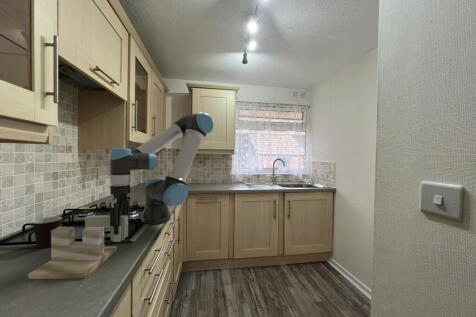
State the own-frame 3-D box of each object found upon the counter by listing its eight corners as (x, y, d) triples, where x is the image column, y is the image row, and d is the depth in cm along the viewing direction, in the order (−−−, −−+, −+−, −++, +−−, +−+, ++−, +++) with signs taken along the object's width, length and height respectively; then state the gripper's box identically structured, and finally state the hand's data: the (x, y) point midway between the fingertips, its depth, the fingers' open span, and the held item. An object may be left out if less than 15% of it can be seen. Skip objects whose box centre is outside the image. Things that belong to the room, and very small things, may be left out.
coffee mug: (44, 250, 79) (44, 224, 79) (26, 248, 81) (26, 222, 81) (74, 238, 90) (74, 215, 90) (58, 236, 92) (58, 213, 92)
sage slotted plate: (85, 241, 88) (85, 217, 88) (89, 238, 91) (89, 215, 91) (124, 241, 89) (124, 217, 89) (127, 238, 92) (128, 215, 92)
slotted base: (72, 250, 79) (72, 220, 79) (116, 250, 80) (116, 220, 80) (28, 279, 61) (28, 239, 61) (85, 278, 62) (85, 239, 62)
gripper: (121, 181, 98) (120, 231, 98) (99, 187, 81) (98, 248, 81) (137, 181, 98) (137, 231, 99) (119, 187, 81) (119, 248, 82)
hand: (120, 239), depth 90 cm, fingers open, 4 cm apart
